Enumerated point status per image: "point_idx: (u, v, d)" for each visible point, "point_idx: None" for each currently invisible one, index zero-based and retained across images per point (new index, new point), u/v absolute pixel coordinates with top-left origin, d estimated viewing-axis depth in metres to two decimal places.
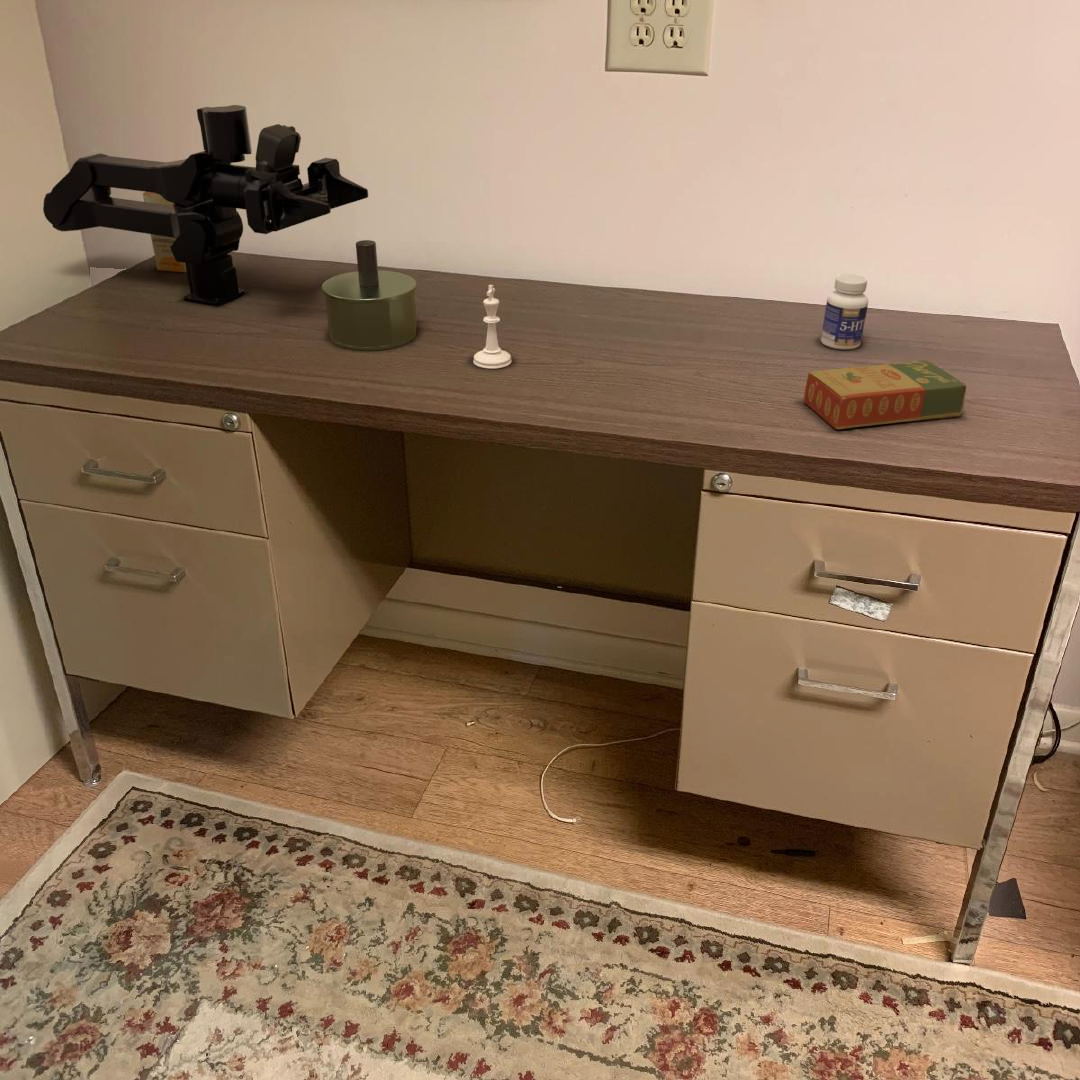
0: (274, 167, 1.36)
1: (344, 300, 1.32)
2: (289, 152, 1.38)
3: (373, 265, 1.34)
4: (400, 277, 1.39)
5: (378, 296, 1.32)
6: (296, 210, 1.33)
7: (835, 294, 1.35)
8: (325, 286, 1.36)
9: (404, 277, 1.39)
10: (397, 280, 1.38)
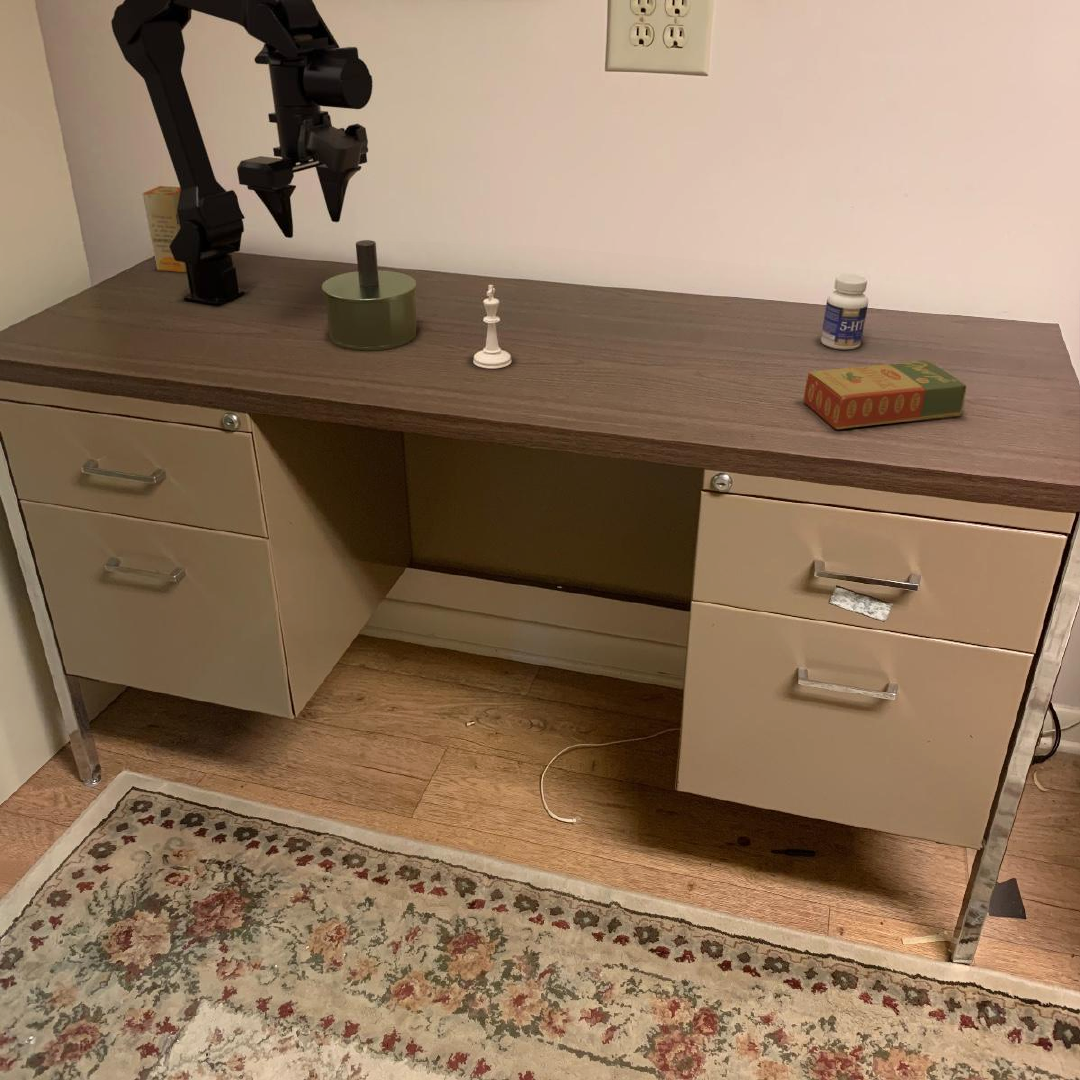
0: (314, 157, 1.29)
1: (344, 300, 1.32)
2: None
3: (373, 265, 1.34)
4: (400, 277, 1.39)
5: (378, 296, 1.32)
6: (275, 204, 1.31)
7: (835, 294, 1.35)
8: (325, 286, 1.36)
9: (404, 277, 1.39)
10: (397, 280, 1.38)
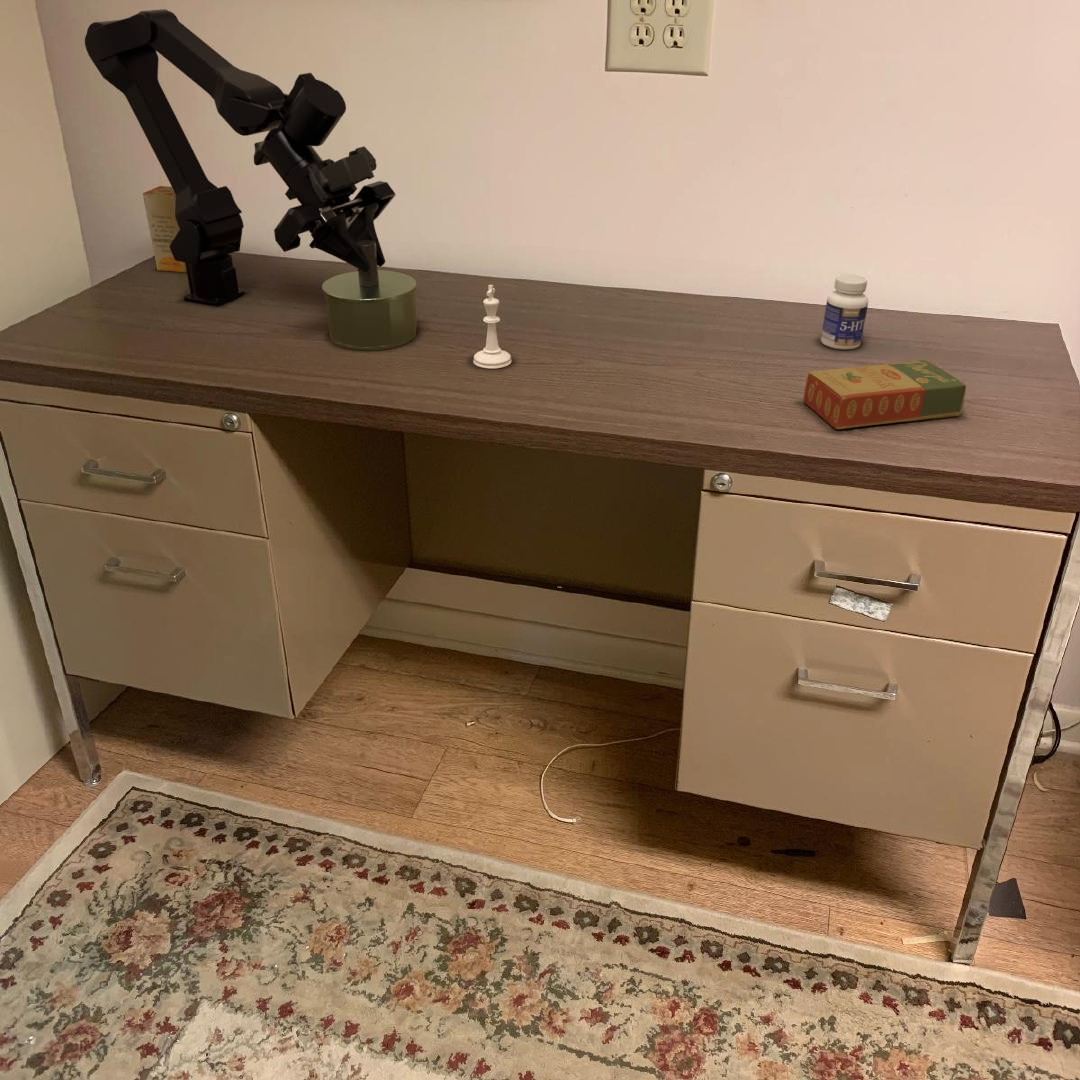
0: (332, 190, 1.30)
1: (344, 300, 1.32)
2: None
3: (373, 265, 1.34)
4: (400, 277, 1.39)
5: (378, 296, 1.32)
6: (340, 247, 1.33)
7: (835, 294, 1.35)
8: (325, 286, 1.36)
9: (404, 277, 1.39)
10: (397, 280, 1.38)
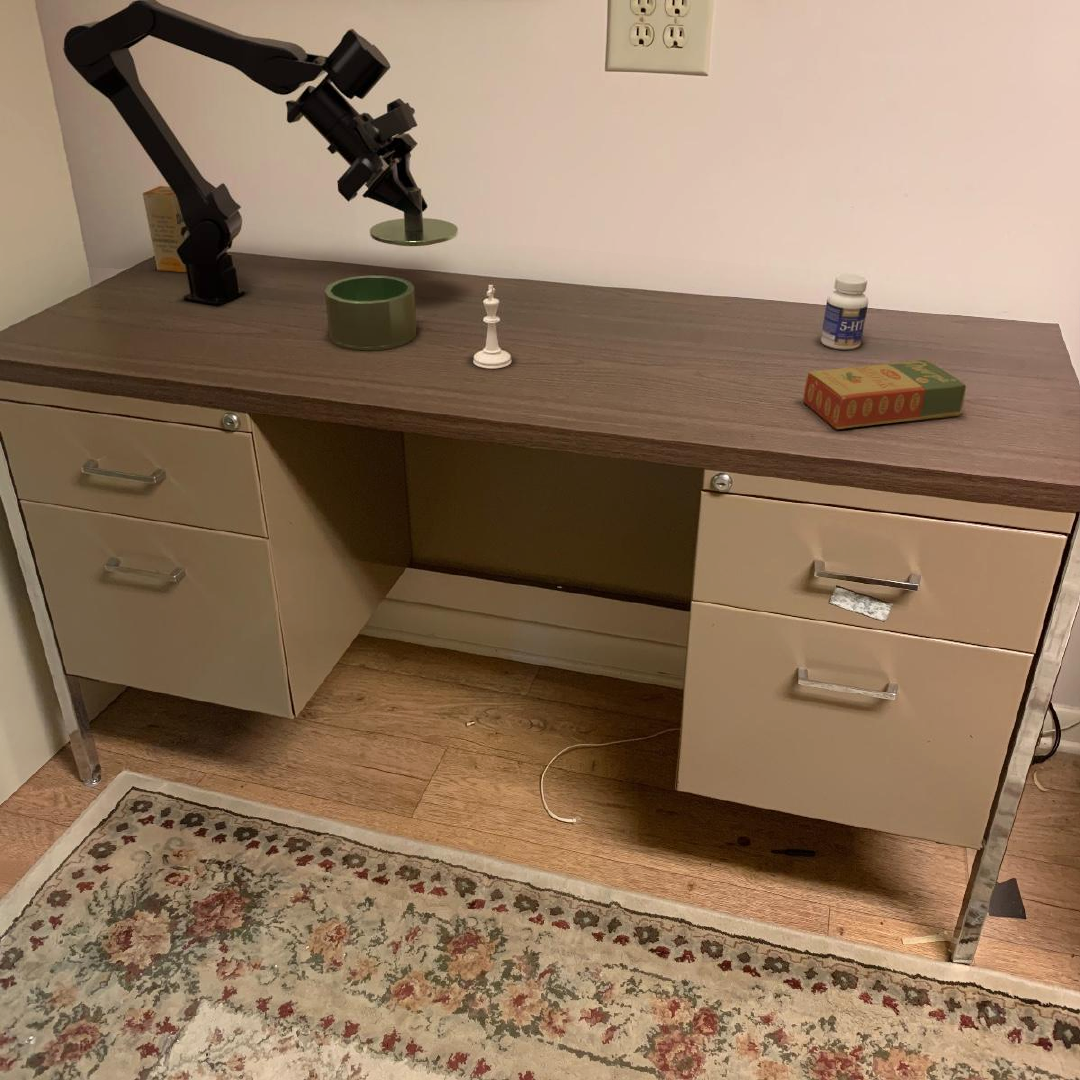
0: (383, 140, 1.38)
1: (406, 243, 1.40)
2: None
3: (421, 210, 1.44)
4: (434, 221, 1.49)
5: (436, 237, 1.42)
6: (392, 194, 1.41)
7: (835, 294, 1.35)
8: (376, 234, 1.43)
9: (438, 221, 1.49)
10: (435, 223, 1.48)
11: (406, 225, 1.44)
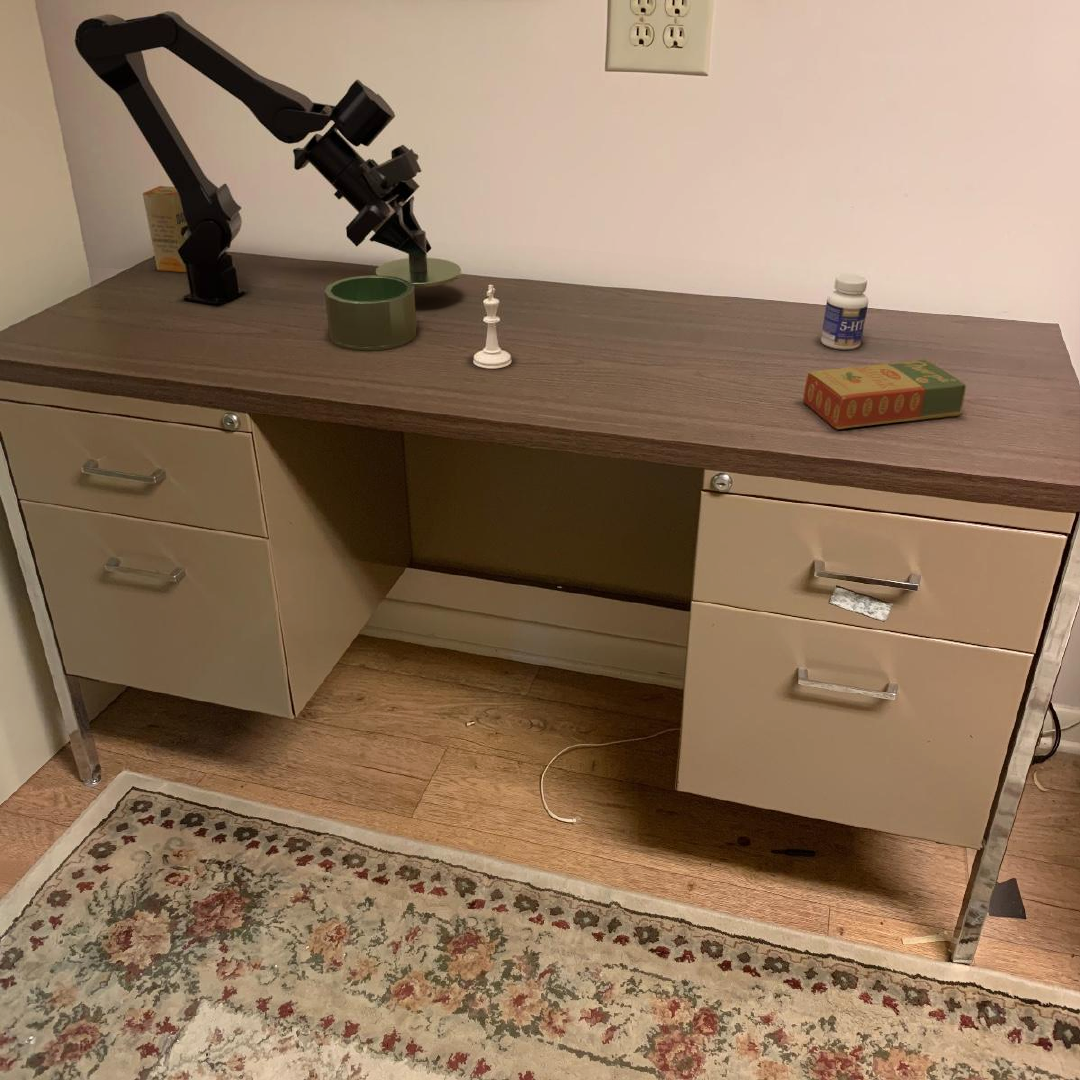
0: (389, 186, 1.42)
1: (413, 285, 1.45)
2: None
3: None
4: (437, 261, 1.54)
5: (441, 278, 1.47)
6: (397, 237, 1.45)
7: (835, 294, 1.35)
8: None
9: (441, 261, 1.54)
10: (438, 264, 1.52)
11: (411, 266, 1.49)
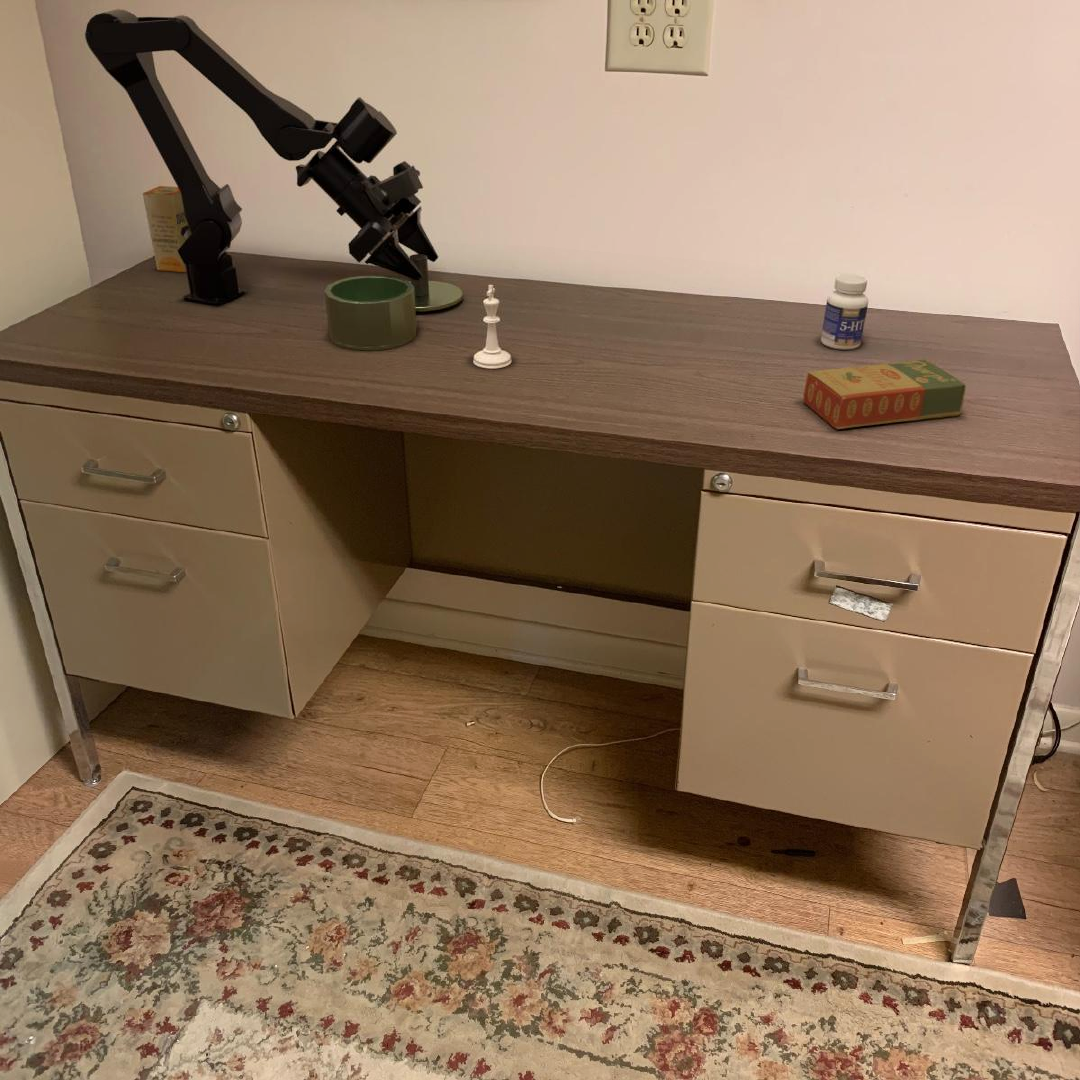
0: (391, 202, 1.43)
1: (415, 309, 1.47)
2: None
3: (427, 276, 1.50)
4: (439, 284, 1.55)
5: (442, 302, 1.48)
6: (393, 259, 1.44)
7: (835, 294, 1.35)
8: None
9: (443, 284, 1.55)
10: (439, 287, 1.54)
11: None
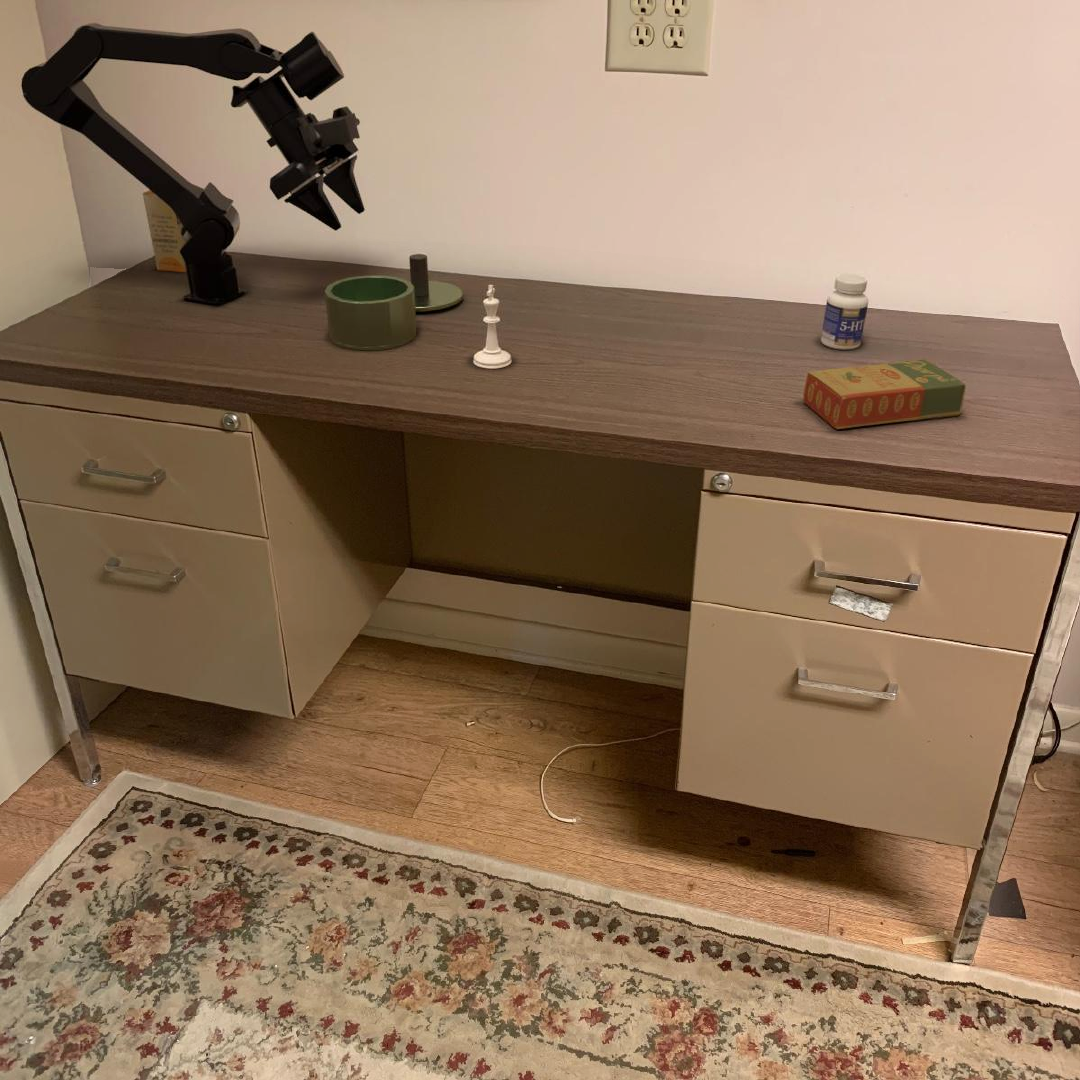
0: (323, 146, 1.40)
1: (415, 309, 1.47)
2: None
3: (427, 276, 1.50)
4: (439, 284, 1.55)
5: (442, 302, 1.48)
6: (314, 204, 1.41)
7: (835, 294, 1.35)
8: None
9: (443, 284, 1.55)
10: (439, 287, 1.54)
11: None
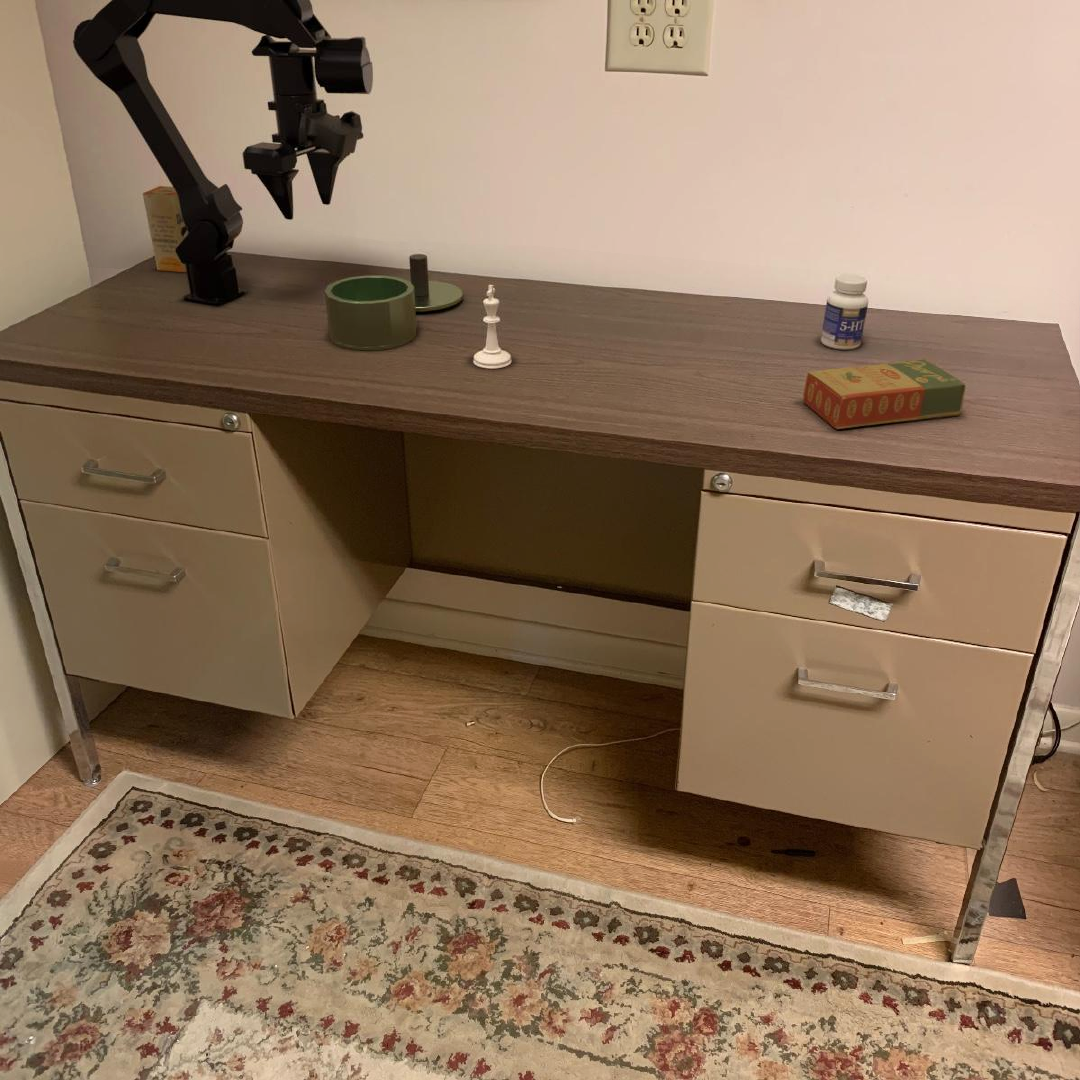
0: (314, 142, 1.37)
1: (415, 309, 1.47)
2: None
3: (427, 276, 1.50)
4: (439, 284, 1.55)
5: (442, 302, 1.48)
6: (277, 188, 1.39)
7: (835, 294, 1.35)
8: None
9: (443, 284, 1.55)
10: (439, 287, 1.54)
11: None
